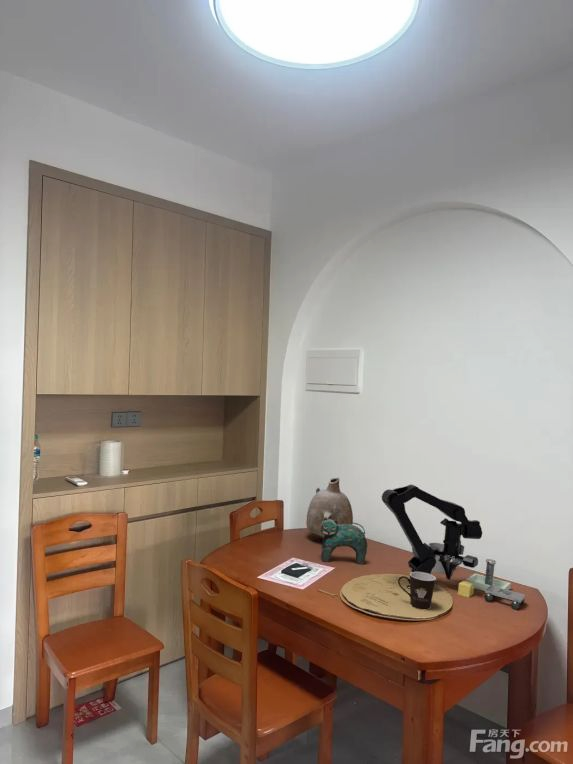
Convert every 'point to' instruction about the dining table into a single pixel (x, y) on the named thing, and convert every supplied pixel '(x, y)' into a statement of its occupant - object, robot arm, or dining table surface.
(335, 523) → the ceramic cat
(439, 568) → the cup
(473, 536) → the robot arm
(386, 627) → the dining table surface
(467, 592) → the yellow block
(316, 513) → the jug
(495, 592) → the cart
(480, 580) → the tray
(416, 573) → the coffee mug
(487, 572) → the pin
